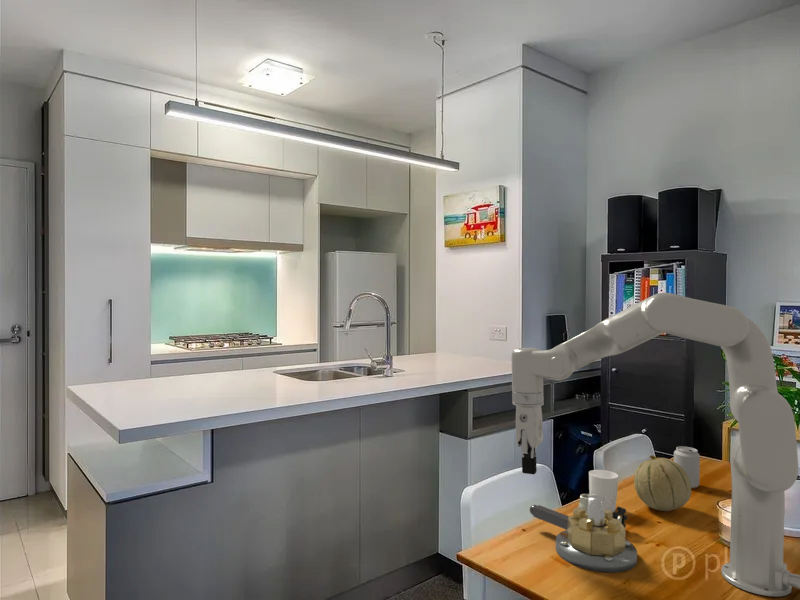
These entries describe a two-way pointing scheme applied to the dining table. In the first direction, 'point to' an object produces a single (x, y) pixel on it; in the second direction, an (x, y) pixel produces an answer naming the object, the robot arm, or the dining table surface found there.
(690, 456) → the can
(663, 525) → the dining table surface
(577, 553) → the cap plate
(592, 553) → the castle nut fixture
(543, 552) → the dining table surface
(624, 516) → the valve
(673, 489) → the cantaloupe
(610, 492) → the white cup
